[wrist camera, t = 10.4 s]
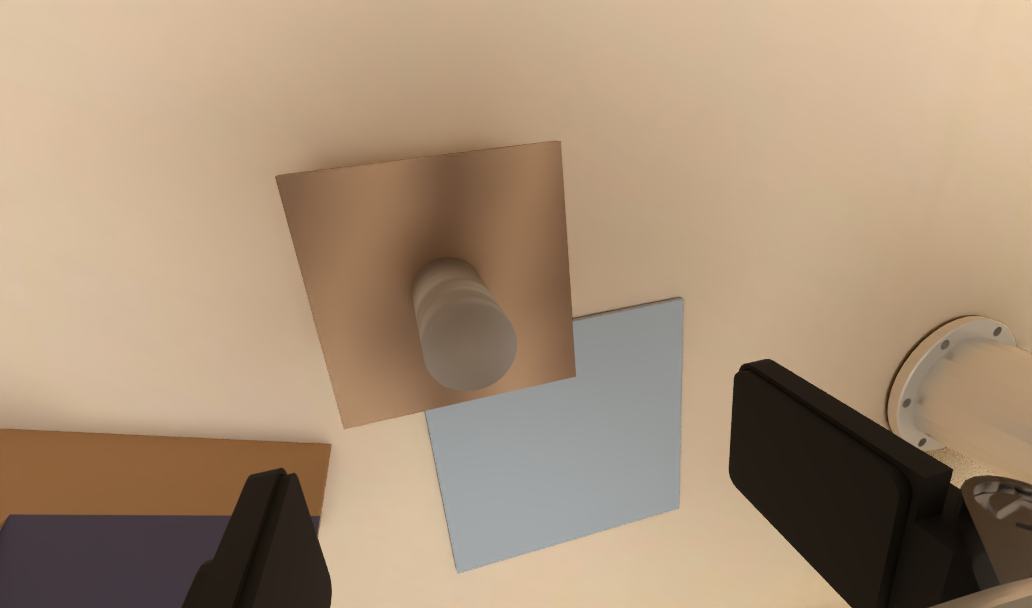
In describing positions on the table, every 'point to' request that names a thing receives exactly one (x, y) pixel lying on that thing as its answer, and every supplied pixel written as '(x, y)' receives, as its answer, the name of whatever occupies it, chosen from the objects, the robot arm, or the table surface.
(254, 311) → the table surface
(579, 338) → the mat
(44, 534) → the toy building blocks
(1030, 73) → the table surface
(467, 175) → the lid
